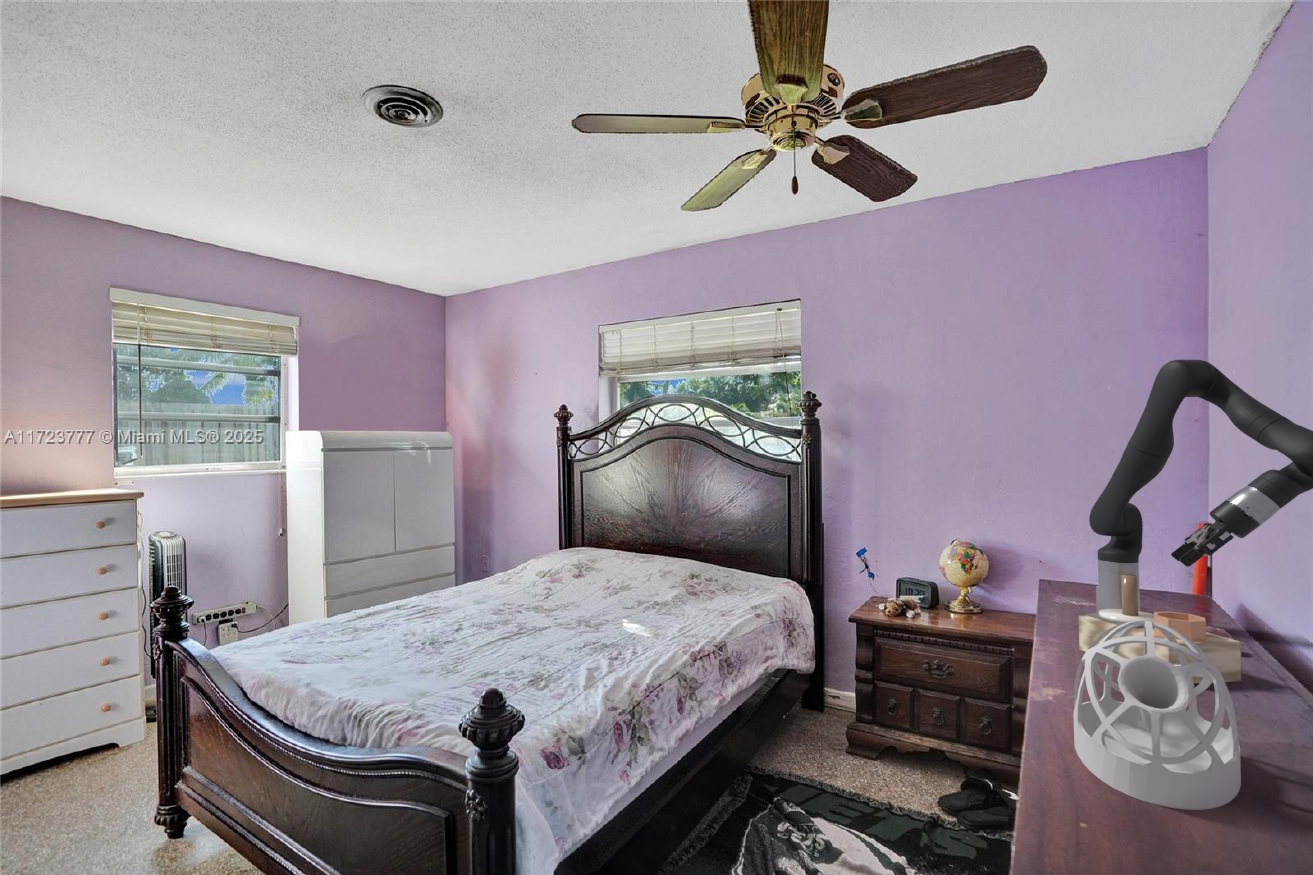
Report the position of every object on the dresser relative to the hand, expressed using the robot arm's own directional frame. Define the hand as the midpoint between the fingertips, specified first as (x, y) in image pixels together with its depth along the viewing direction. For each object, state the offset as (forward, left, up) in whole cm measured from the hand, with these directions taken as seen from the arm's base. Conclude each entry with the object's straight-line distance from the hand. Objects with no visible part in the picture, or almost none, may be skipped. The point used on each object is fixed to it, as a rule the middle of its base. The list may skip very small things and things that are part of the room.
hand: (1178, 560), depth 145 cm
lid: (-5, -7, -14) cm, 17 cm away
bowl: (+7, -7, -14) cm, 18 cm away
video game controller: (-6, +14, -23) cm, 27 cm away
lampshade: (+44, -49, -23) cm, 69 cm away
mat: (-5, -7, -14) cm, 17 cm away
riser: (+1, -7, -22) cm, 24 cm away
